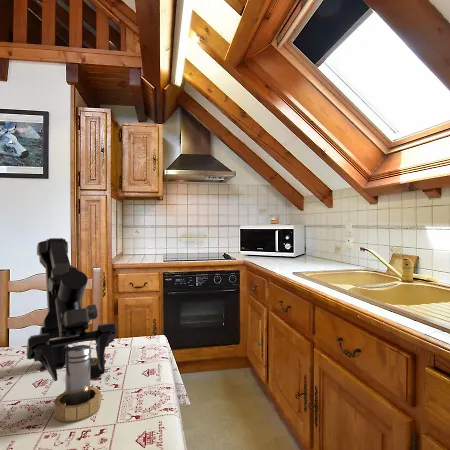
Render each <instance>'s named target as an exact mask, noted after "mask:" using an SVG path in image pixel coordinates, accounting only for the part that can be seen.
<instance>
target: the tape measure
mask: <svg viewBox="0 0 450 450" xmlns="http://www.w3.org/2000/svg"><path fill="white" fill-rule="evenodd" d="M106 363H107V359H106V358H105V357H104V360H103V367H102V370H100V369H99V366H98V360H97V357H91V358H90V378H92V377H96V376H101V375H103V374H104V373H105V372H106V371H105V370H106V368H105V365H106Z"/></svg>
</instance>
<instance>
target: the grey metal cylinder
mask: <svg viewBox="0 0 450 450" xmlns="http://www.w3.org/2000/svg"><path fill="white" fill-rule="evenodd" d="M69 347H70V348H68V349H67V350H66V354H65V357H66V359H65V361H66V365H65V391H64V392H65V405H67V406H71V405H79V404H82V403H86V402H88V401H89V400H90V387H91V377H90V358H92V354H91V353H92V350H91V346H90V345H87V344H80V345H78V344H77V345H74V346H73V345H72V346H69Z"/></svg>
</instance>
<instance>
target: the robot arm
mask: <svg viewBox="0 0 450 450" xmlns="http://www.w3.org/2000/svg"><path fill="white" fill-rule="evenodd" d="M68 253H69V242H68V241H66V238H63V237H62V238H61V237H58V238H57V237H53V238H51V237H50V238H47V239H46V240H43V241H42V240H41V241H39V242H38V244H36V255H37V256H38V257H39V263H40V265H42V266H43V268H44V269H45V281H46V282H45V284H46V302H47V303H46V305H47V314H46V316H45V318H44V319H43V322H42V323H41V325H42V326H41V327H40V328H39V329H40V330H39V334H33V335H30V336H29V337H28V339H27V345H26V359H27V360H33V361H34V362H40V363H41V366H39V370H47V372H48V373H49V374H50V376H51V378H52V379H53V381H54V382H57V381H58V371H57V369H63V368H64V367H66V361H65V359H66V357H65V354H66V350H67V349H68V348H70V347H71V346H69V345H72V344H79V343H83V342H89V341H93V340H95V344H96V346H95V353H96V358H97V360H98V366H99V369H100V370H102V367H103V360H104V358H105V353H106V348H107V347H108V346H109V345H110V344H111V343H113V342H114V340H115V338H116V335H117V333H118V328H117V325H116V324H115V322H108V323H107V322H106V323H101V324H98V325H97V328H96V330H94V331H87V330H88V329H89V327H90V326H89V323H90V322H91V320H92V321H93V320H95V319H97V318H98V309H97V305H96V304H90V305H87V306H86V307H84V308H83V307H82V302H81V300H82V299H83V298H84V295H85V291H86V287H87V284H88V281H89V279H88V276H87V275H86V274H85V273H84V272H83V271H81V270H78V267H77V266H76V267H75V266H72V265H71V262H70V259H69V254H68Z"/></svg>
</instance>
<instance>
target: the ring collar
mask: <svg viewBox="0 0 450 450" xmlns="http://www.w3.org/2000/svg"><path fill="white" fill-rule="evenodd" d="M65 392H66V391H63V392H62V393H60V394H58V395H57V396H56V398H55V399H54V401H53V415H54V419H55V420H56V421H58V422H61V423H74V422H79V421H83V420H86V419H87V418H88V419H89V418H90V417H92V416H93V415H95V414H96V413H98V411H99V410H100V408H101V404H102V398H101V397H102V391H100V389H99V388H97V387H93V386H90V400H89V401H88V402H86V403H82V404H79V405H71V406H67V405H65Z"/></svg>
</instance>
